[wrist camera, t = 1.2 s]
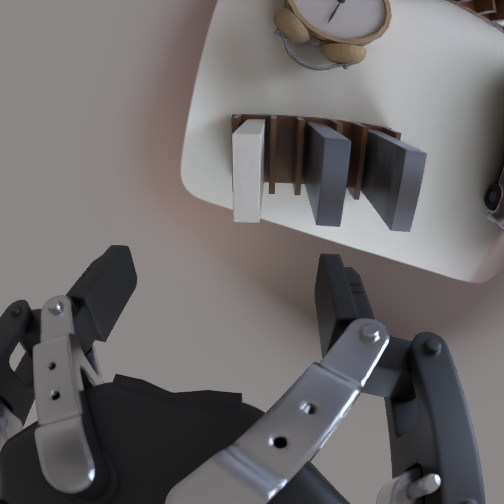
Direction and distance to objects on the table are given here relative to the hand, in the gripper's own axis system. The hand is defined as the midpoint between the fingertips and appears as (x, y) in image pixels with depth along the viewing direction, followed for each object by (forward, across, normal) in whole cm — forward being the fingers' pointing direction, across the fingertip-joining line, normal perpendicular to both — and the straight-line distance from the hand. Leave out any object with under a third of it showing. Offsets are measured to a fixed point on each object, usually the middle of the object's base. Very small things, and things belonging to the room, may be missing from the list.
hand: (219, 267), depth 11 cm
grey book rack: (+24, -7, 0) cm, 25 cm away
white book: (+23, 0, 0) cm, 23 cm away
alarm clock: (+24, -8, -17) cm, 30 cm away
